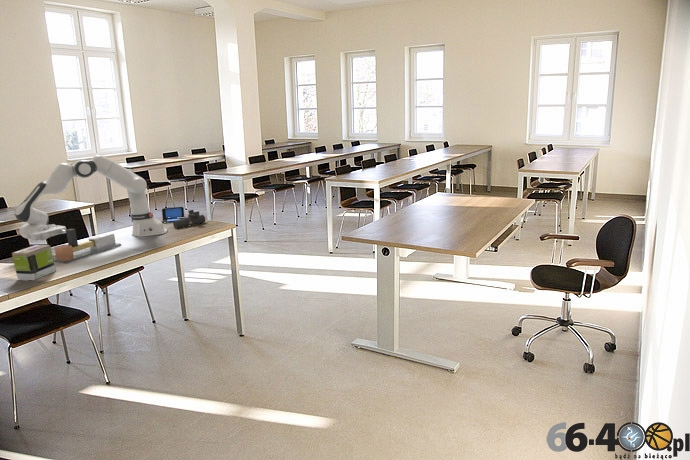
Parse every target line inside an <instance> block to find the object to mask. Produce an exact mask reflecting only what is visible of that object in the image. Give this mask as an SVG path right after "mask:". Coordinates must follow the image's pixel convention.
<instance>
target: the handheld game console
mask: <svg viewBox="0 0 690 460" xmlns="http://www.w3.org/2000/svg"><path fill="white" fill-rule="evenodd" d="M161 214H162V215H161V217H162V221H161V222H162V224H163V223H164V222H173V221H174V220H179V219H184V218H185V208H184V207H183V206H176V207H165V208H162V210H161ZM168 217H170V218H168ZM177 217H184V218H177ZM164 224H165V223H164Z"/></svg>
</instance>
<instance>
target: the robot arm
mask: <svg viewBox="0 0 690 460" xmlns="http://www.w3.org/2000/svg"><path fill="white" fill-rule="evenodd" d="M95 173H98V174H100V175H102V176H104V177H105V178H107V179H109V180H110V181H112V182H114V183H116V184H118V185H119V186H122V187H123V188H125V189H126V192H127V196H128V200H129V205H130V211H131V214H130V215H131V216H130V218H131V222H132V233H131V235H132V236H133V237H138V238H142V237H150V236H158V235H163V234H166V233H167V232H168V231H167V230H168V228H165V227H164V224H163V223H162V221H161V220H159V219H157V218H156V217H154V213H153V212H151V211H150V207H149V201H148V198H147V194H146V190H147V188H148V185H147V181H146V179H144V178H143V177H142V176H140V175H139V174H136V173H135V172H132V171H131V170H130V169H127V168H126V167H125V166H123V165H121V164H119V163H117V162H116V161H114V160H112V159H111V158H108V157H106V156H104V155H101V154H96V155H94V156H92V158H90V160H89V159H88V160H87V159H80V160H79V159H78V160H76V161H74V162H73V163H71V164H69V163H66V162H61V163H58V164H57V166H55V168H54V169H53V171H52V172H51V174H50V175H49V177H48V178H47V179H46V180H45V181H41V182H39V183H38V184H37V185H36V186H35V187H34V188H33V189H32V190H31V192H30V193H29V194H28V196H26V197H25V199H24V200H23V201H22V202H21V203H20V204H19V205H18V206H17V207H16V208H15V210H14V217H15V218H16V220H17V221H20V222H23V223H24V224H22V225H21V226H20V227H19V229H18V230H19V231H18V232H19V234H20V236H22V237H23V238H24V239H27V240H32V241H45V240H47V239H49V238H51V237H55V236H57V235H62V234H66V230H67V227H66V226H65V225H58V224H57V225H56V224H55V223H52V224H49V218H50V217H49V214H48V212H45V211H43V210H40V209H37V208H35V207H33V206H34V205H35V204H36V203H37V201H38V200H39V199H40V198H41V197H42V196H43V195H50V194H51V195H58V194H61V193H63V192H65V191H66V189H67V188H68V186H69V185H70V183H71V180H72V179H73V178H75V177H78V178H82V179H85V178H89V177H91V176H92V175H93V174H95Z"/></svg>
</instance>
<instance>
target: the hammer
mask: <svg viewBox="0 0 690 460" xmlns="http://www.w3.org/2000/svg"><path fill="white" fill-rule="evenodd" d="M65 234H66V239H67V243H68V244H67V245H72V249H73V253H74V252H78V251H81V250H84V249H87V248H90V247H93V246H95V242H94V240H91V241H89V240H88V241H85V242H82V243H78V238H77V233H76V228H68V229H67V228H66V233H65Z"/></svg>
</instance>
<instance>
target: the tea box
mask: <svg viewBox="0 0 690 460" xmlns="http://www.w3.org/2000/svg"><path fill="white" fill-rule="evenodd" d="M11 256H12V260H13V264H14V269H15V273H16V276H17V280H18V279H21V280H20V281H28V280H32V281H35V280H37V279H40V278H43V277H45V276H48V275H50V274H52V273H55V272H57V270H56V265H55V262H54V260H53V259H54V256H53V251H52V247H51V245H49V244H47V245H46V244H34V245H32V246H29V247H26V248H25V247H24V248H22V249H20V250H17V251H14V252H11Z"/></svg>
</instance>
